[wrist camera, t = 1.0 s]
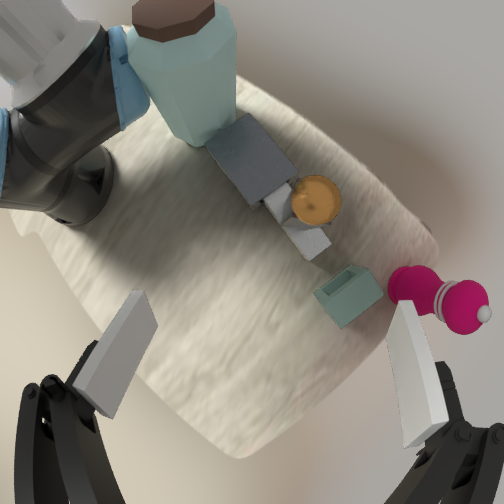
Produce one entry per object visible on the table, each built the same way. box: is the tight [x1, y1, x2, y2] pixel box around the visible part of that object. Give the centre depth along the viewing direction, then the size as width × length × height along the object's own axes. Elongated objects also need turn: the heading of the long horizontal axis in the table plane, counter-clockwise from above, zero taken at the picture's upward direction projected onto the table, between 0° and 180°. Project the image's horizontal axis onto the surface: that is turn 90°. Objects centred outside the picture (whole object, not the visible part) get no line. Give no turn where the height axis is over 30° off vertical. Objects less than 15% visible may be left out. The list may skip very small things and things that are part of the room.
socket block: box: [314, 264, 384, 329], centre depth 35 cm, size 4×7×7 cm, turn 126°
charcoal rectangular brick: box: [204, 113, 298, 211], centre depth 35 cm, size 10×7×6 cm
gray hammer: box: [261, 175, 341, 261], centre depth 28 cm, size 18×4×18 cm, turn 37°
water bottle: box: [127, 0, 236, 147], centre depth 25 cm, size 10×10×25 cm
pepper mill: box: [388, 265, 492, 335], centre depth 28 cm, size 7×7×20 cm
